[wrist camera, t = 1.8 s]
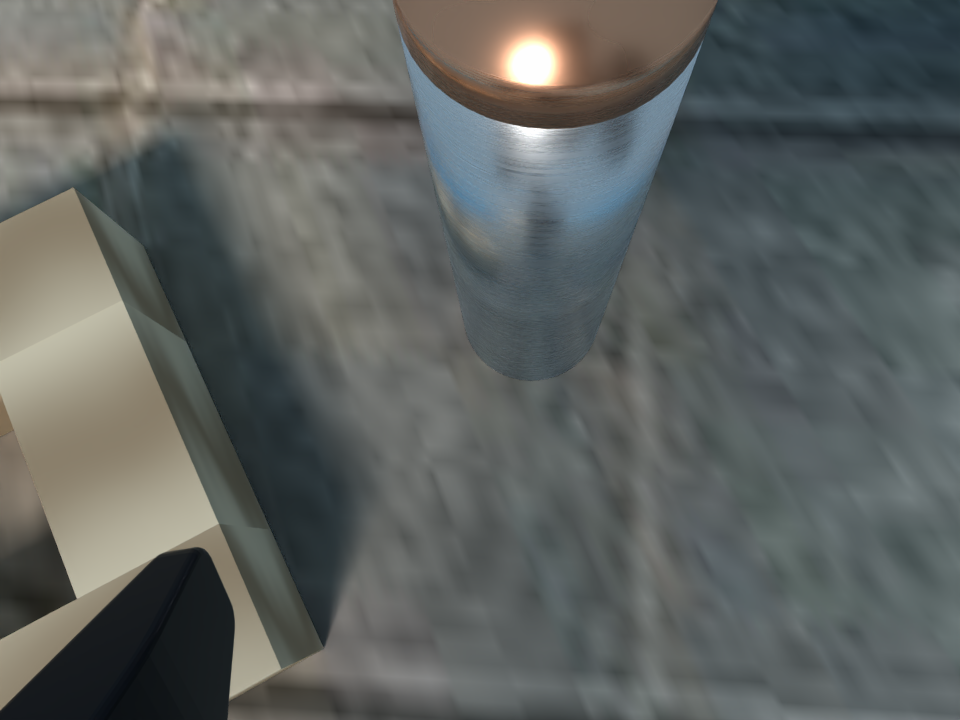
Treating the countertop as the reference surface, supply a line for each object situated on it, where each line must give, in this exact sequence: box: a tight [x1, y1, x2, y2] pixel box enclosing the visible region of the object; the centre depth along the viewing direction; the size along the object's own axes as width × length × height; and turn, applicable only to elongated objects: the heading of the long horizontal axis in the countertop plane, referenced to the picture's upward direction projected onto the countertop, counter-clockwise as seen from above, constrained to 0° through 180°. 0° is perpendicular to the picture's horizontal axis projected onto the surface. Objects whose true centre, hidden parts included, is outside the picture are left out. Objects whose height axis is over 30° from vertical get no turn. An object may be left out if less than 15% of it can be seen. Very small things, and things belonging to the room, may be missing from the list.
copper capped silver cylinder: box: [393, 0, 718, 381], centre depth 14 cm, size 4×4×13 cm
